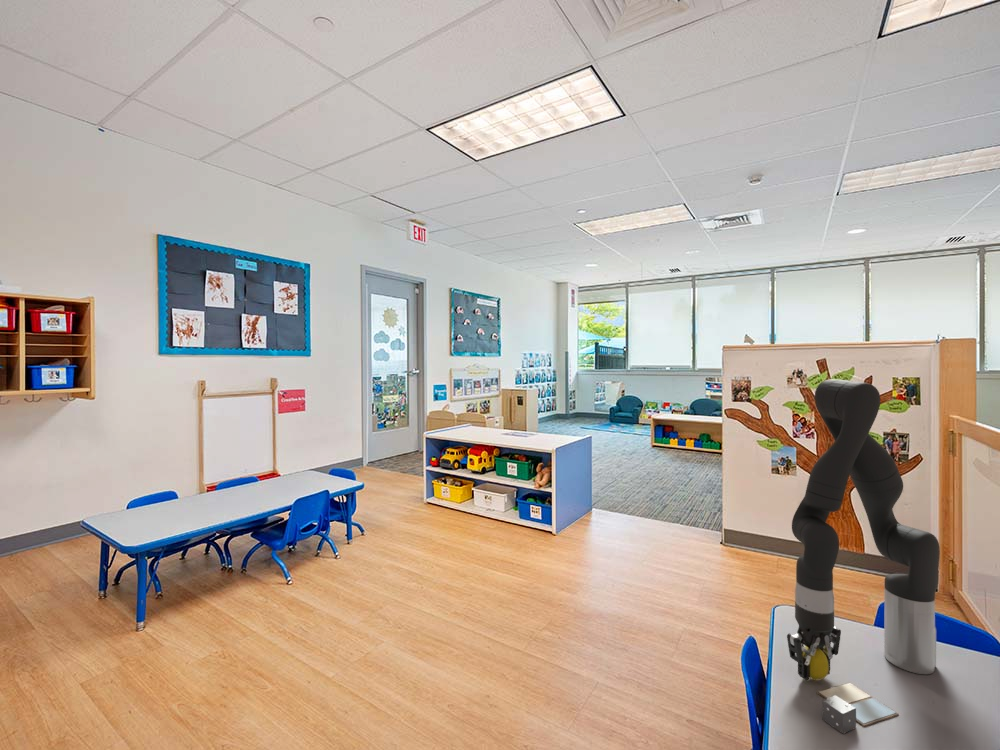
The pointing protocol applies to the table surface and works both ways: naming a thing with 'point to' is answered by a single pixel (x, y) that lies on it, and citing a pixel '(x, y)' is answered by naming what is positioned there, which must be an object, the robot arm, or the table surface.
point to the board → (860, 703)
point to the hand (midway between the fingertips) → (814, 674)
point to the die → (839, 714)
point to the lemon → (818, 664)
